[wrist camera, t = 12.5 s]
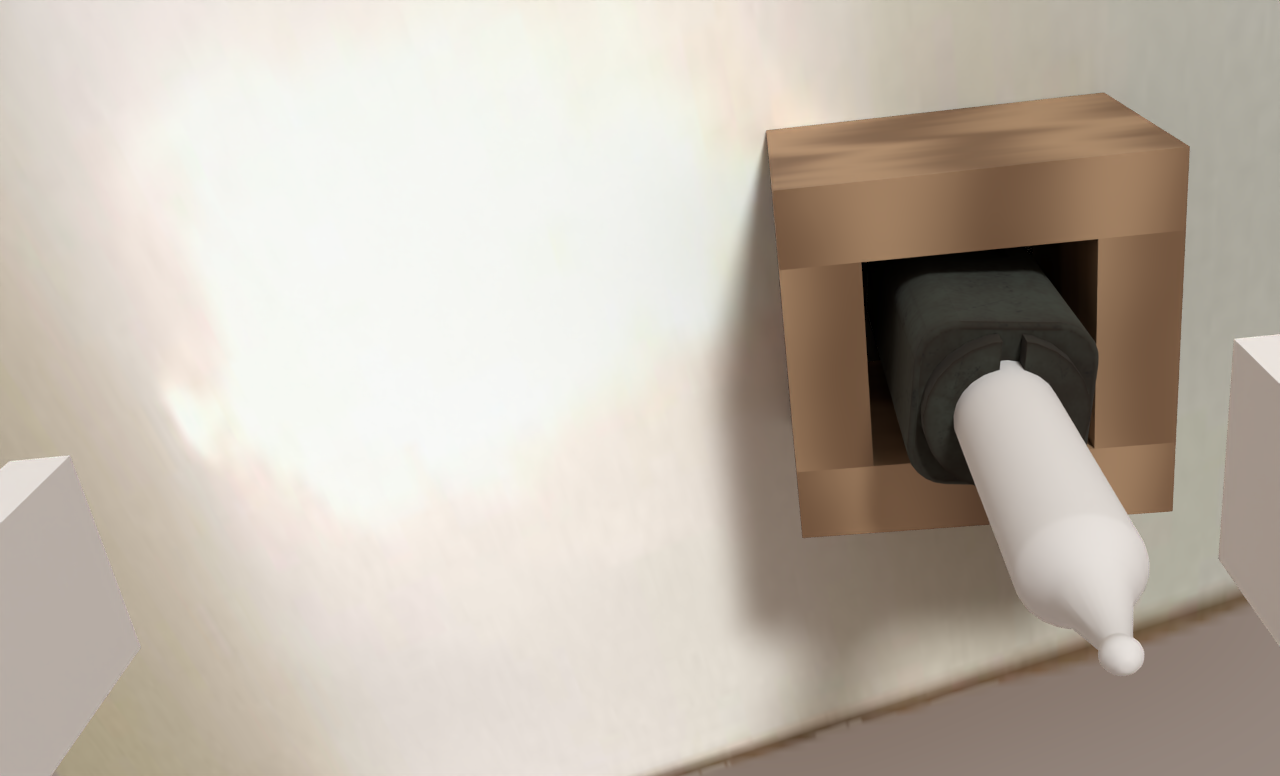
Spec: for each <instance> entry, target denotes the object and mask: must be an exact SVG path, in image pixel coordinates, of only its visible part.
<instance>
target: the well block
mask: <svg viewBox="0 0 1280 776" xmlns="http://www.w3.org/2000/svg"><path fill="white" fill-rule="evenodd" d="M766 132H767V144H768V155H769V167H770V178H771V190H772V201H773V213H774V224H775V236H776V247H777V258H778V270H779V281H780V293H781V304H782V316H783V327H784V339H785V350H786V361H787V373H788V384H789V396H790V407H791V419H792V430H793V441H794V451H795V462H796V473H797V484H798V494H799V505H800V516H801V527H802V537H803V538H809V537H823V536H837V535H851V534H865V533H879V532H892V531H906V530H920V529H934V528H948V527H961V526H975V525H989V524H990V522H989V520H988V517H987V514H986V512H985V509H984V506H983V504H982V501H981V498H980V496H979V493H978V491H977V488H976V486H974V485H962V484H941V483H935V482H932V481H930V480H927V479H925V478H924V477H923V476H921V475H920V474H919V473H917V471H916V470H915V469H914V468H913V466H912V465H911V463H910V460H909V457H908V455H907V451H906V447H905V444H904V440H903V437H902V433H901V430H900V426H899V423H898V419H897V416H896V412H895V409H894V405H893V402H892V398H891V395H890V391H889V388H888V384H887V381H886V377H885V373H884V370H883V366H882V363H881V360H876V361H867V348H866V332H865V315H864V298H863V281H862V265H861V262H869V261H879V260H890V259H900V258H910V257H920V256H930V255H940V254H950V253H961V252H971V251H981V250H991V249H1001V248H1011V247H1021V246H1032V257H1033V259H1034V260H1035V261H1036V263H1037V264H1038V265H1039V267H1040V268H1041V270H1042V271H1043V272H1044V274H1045V275H1046V276H1047V278H1048V279H1049V280H1050V282H1051V283H1052V284H1053V286H1054V287H1055V288H1056V290H1057V291H1058V292H1059V294H1060V295H1061V296H1062V298H1063V299H1064V300H1065V302H1066V303H1067V305H1068V306H1069V307H1070V309H1071V310H1072V311H1073V313H1074V314H1075V315H1076V317H1077V318H1078V319H1079V321H1080V322H1081V323H1082V325H1083V326H1084V327H1085V329H1086V330H1087V331H1088V333H1089V334H1090V336H1091V337H1092V338H1093V340H1094V341H1095V343H1096V346H1097V349H1098V352H1099V364H1098V371H1097V378H1096V385H1095V392H1094V399H1093V406H1092V413H1091V420H1090V427H1089V434H1088V441H1087V447H1088V449H1089V450H1090V452H1091V454H1092V455H1093V457H1094V459H1095V460H1096V462H1097V464H1098V465H1099V467H1100V469H1101V471H1102V472H1103V474H1104V476H1105V477H1106V479H1107V481H1108V482H1109V484H1110V486H1111V487H1112V489H1113V491H1114V492H1115V494H1116V496H1117V497H1118V499H1119V501H1120V502H1121V504H1122V506H1123V507H1124V509H1125V511H1126V513H1127V514H1141V513H1155V512H1169V511H1172V510H1173V488H1174V467H1175V446H1176V425H1177V404H1178V383H1179V361H1180V340H1181V319H1182V298H1183V277H1184V256H1185V234H1186V213H1187V192H1188V171H1189V150H1190V147H1189V146H1188V145H1186V144H1185V143H1183V142H1181V141H1180V140H1178V139H1177V138H1175V137H1174V136H1172V135H1170V134H1169V133H1167V132H1166V131H1164V130H1162V129H1161V128H1159V127H1158V126H1156V125H1155V124H1153V123H1151V122H1150V121H1148V120H1147V119H1145V118H1143V117H1142V116H1140V115H1139V114H1137V113H1136V112H1134V111H1132V110H1131V109H1129V108H1128V107H1126V106H1124V105H1123V104H1121V103H1120V102H1118V101H1117V100H1115V99H1113V98H1112V97H1110V96H1109V95H1107V94H1105V93H1096V94H1087V95H1078V96H1069V97H1060V98H1051V99H1043V100H1034V101H1025V102H1016V103H1007V104H998V105H989V106H980V107H971V108H962V109H953V110H945V111H936V112H927V113H918V114H909V115H900V116H891V117H882V118H873V119H864V120H856V121H847V122H838V123H829V124H820V125H811V126H802V127H793V128H784V129H775V130H766Z"/></svg>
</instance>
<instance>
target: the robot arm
mask: <svg viewBox="0 0 1280 776" xmlns="http://www.w3.org/2000/svg"><path fill="white" fill-rule="evenodd" d="M1218 559H1219V560H1220V562H1221V563H1222V565H1223V566H1224V568H1225V569H1226V571H1227V572H1228V573H1229V575H1230V576H1231V578H1232V579H1233V581H1234V582H1235V583H1236V585H1237V586H1238V588H1239V589H1240V591H1241V592H1242V594H1243V595H1244V596H1245V598H1246V599H1247V601H1248V602H1249V604H1250V605H1251V607H1252V608H1253V609H1254V611H1255V612H1256V614H1257V615H1258V617H1259V618H1260V619H1261V621H1262V622H1263V624H1264V625H1265V627H1266V628H1267V630H1268V631H1269V632H1270V634H1271V635H1272V637H1273V638H1274V640H1275V641H1276V643H1277V644H1278V645H1279V647H1280V334H1278V335H1268V336H1258V337H1248V338H1238V339H1234V343H1233V358H1232V372H1231V386H1230V401H1229V415H1228V429H1227V443H1226V458H1225V472H1224V486H1223V500H1222V515H1221V529H1220V543H1219V557H1218ZM140 648H141V646H140V643H139V641H138V638H137V635H136V632H135V630H134V627H133V624H132V622H131V619H130V616H129V613H128V611H127V608H126V605H125V603H124V600H123V597H122V594H121V592H120V589H119V586H118V584H117V581H116V578H115V575H114V573H113V570H112V567H111V565H110V562H109V559H108V556H107V554H106V551H105V548H104V546H103V543H102V540H101V537H100V535H99V532H98V529H97V527H96V524H95V521H94V518H93V516H92V513H91V510H90V508H89V505H88V502H87V499H86V497H85V494H84V491H83V489H82V486H81V483H80V480H79V478H78V475H77V472H76V470H75V467H74V464H73V461H72V459H71V456H70V455H68V456H58V457H48V458H38V459H28V460H18V461H9V462H8V463H7V464H6V465H5V466H3V467H2V468H1V469H0V776H51V775H52V774H53V772H54V771H55V769H56V768H57V767H58V765H59V764H60V762H61V761H62V759H63V758H64V757H65V755H66V754H67V752H68V751H69V749H70V748H71V747H72V745H73V744H74V742H75V741H76V739H77V738H78V737H79V735H80V734H81V732H82V731H83V729H84V728H85V727H86V725H87V724H88V722H89V721H90V719H91V718H92V717H93V715H94V714H95V712H96V711H97V709H98V708H99V706H100V705H101V704H102V702H103V701H104V699H105V698H106V696H107V695H108V694H109V692H110V691H111V689H112V688H113V686H114V685H115V684H116V682H117V681H118V679H119V678H120V676H121V675H122V674H123V672H124V671H125V669H126V668H127V666H128V665H129V664H130V662H131V661H132V659H133V658H134V656H135V655H136V654H137V652H138V651H139V649H140Z"/></svg>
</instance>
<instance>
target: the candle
mask: <svg viewBox="0 0 1280 776" xmlns="http://www.w3.org/2000/svg"><path fill="white" fill-rule="evenodd" d="M866 306H867V314H868V317H869V321H870V324H871V328H872V331H873V335H874V338H875V342H876V345H877V349H878V352H879V356H880V359H881V363H882V366H883V370H884V373H885V377H886V381H887V384H888V388H889V391H890V395H891V398H892V402H893V405H894V409H895V412H896V416H897V419H898V423H899V426H900V430H901V433H902V437H903V440H904V444H905V447H906V451H907V455H908V457H909V460H910V463H911V465H912V466H913V468H914V469H915V470H916V471H917V473H919V474H920V475H921V476H923V477H924V478H925V479H927V480H930V481H932V482H935V483H941V484H962V485H974V486H976V488H977V491H978V493H979V496H980V498H981V501H982V504H983V506H984V509H985V512H986V514H987V517H988V520H989V522H990V525H991V527H992V530H993V533H994V535H995V538H996V541H997V543H998V546H999V549H1000V551H1001V554H1002V556H1003V559H1004V562H1005V564H1006V567H1007V570H1008V572H1009V575H1010V578H1011V580H1012V583H1013V586H1014V588H1015V591H1016V593H1017V596H1018V598H1019V599H1020V600H1021V601H1022V603H1023V604H1024V605H1025V607H1026V608H1027V609H1028V610H1029V611H1030V612H1031V613H1032V614H1034V615H1035V616H1036V617H1038V618H1039V619H1041V620H1042V621H1044V622H1047V623H1049V624H1052V625H1054V626H1057V627H1061V628H1066V629H1073V630H1075V631H1076V632H1077V633H1078V634H1079V635H1081V636H1082V637H1083V638H1084V639H1086V640H1087V641H1088V642H1089V643H1090V644H1092V645H1093V646H1094V647H1095V648H1096V649H1098V650H1099V652H1098V658H1099V661H1100V664H1101V665H1102V667H1103V668H1104V669H1105V670H1106V671H1108V672H1109V673H1111V674H1113V675H1116V676H1128V675H1131V674H1133V673H1135V672H1136V671H1137V670H1138V669H1139V668H1140V667H1141V666H1142V664H1143V661H1144V650H1143V648H1142V646H1141V644H1140V643H1139V642H1138V641H1137V640H1136V639H1134V638H1133V607H1134V605H1135V604H1136V602H1137V601H1138V599H1139V598H1140V596H1141V595H1142V593H1143V592H1144V590H1145V587H1146V584H1147V581H1148V578H1149V556H1148V553H1147V550H1146V546H1145V543H1144V541H1143V539H1142V538H1141V536H1140V534H1139V533H1138V531H1137V529H1136V528H1135V526H1134V524H1133V523H1132V521H1131V519H1130V518H1129V516H1128V514H1127V513H1126V511H1125V509H1124V507H1123V506H1122V504H1121V502H1120V501H1119V499H1118V497H1117V496H1116V494H1115V492H1114V491H1113V489H1112V487H1111V486H1110V484H1109V482H1108V481H1107V479H1106V477H1105V476H1104V474H1103V472H1102V471H1101V469H1100V467H1099V465H1098V464H1097V462H1096V460H1095V459H1094V457H1093V455H1092V454H1091V452H1090V450H1089V449H1088V447H1087V441H1088V434H1089V427H1090V420H1091V413H1092V406H1093V399H1094V392H1095V385H1096V378H1097V371H1098V364H1099V352H1098V349H1097V346H1096V343H1095V341H1094V340H1093V338H1092V337H1091V336H1090V334H1089V333H1088V331H1087V330H1086V329H1085V327H1084V326H1083V325H1082V323H1081V322H1080V321H1079V319H1078V318H1077V317H1076V315H1075V314H1074V313H1073V311H1072V310H1071V309H1070V307H1069V306H1068V305H1067V303H1066V302H1065V300H1064V299H1063V298H1062V296H1061V295H1060V294H1059V292H1058V291H1057V290H1056V288H1055V287H1054V286H1053V284H1052V283H1051V282H1050V280H1049V279H1048V278H1047V276H1046V275H1045V274H1044V272H1043V271H1042V270H1041V268H1040V267H1039V265H1038V264H1037V263H1036V261H1035V260H1034V259H1033V257H1032V256H1031V255H1030V253H1029V252H1028V251H1027V249H1026V248H1025V247H1024V246H1021V247H1011V248H1001V249H991V250H981V251H971V252H961V253H950V254H940V255H930V256H920V257H910V258H900V259H890V260H879V261H869V268H868V285H867V301H866Z"/></svg>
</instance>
